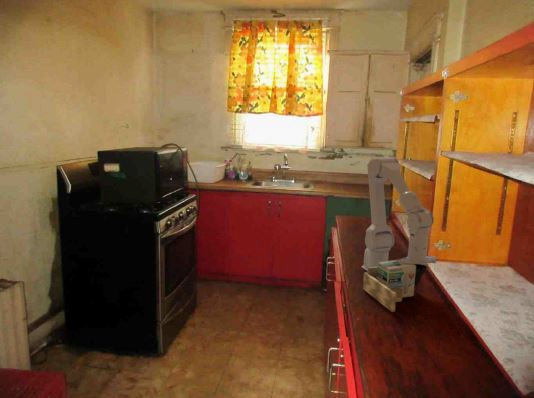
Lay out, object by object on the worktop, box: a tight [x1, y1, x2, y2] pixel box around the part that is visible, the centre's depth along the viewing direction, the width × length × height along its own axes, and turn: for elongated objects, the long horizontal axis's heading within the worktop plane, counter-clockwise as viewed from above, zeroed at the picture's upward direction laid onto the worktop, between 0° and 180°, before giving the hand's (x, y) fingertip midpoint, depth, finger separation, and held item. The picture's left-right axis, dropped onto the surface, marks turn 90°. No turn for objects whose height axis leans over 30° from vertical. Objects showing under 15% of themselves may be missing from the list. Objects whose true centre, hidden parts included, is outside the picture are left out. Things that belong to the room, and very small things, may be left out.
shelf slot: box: [362, 266, 403, 313], centre depth 122 cm, size 17×7×8 cm, turn 16°
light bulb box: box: [377, 259, 416, 298], centre depth 126 cm, size 11×7×11 cm, turn 108°
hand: (414, 284), depth 128 cm, fingers closed
